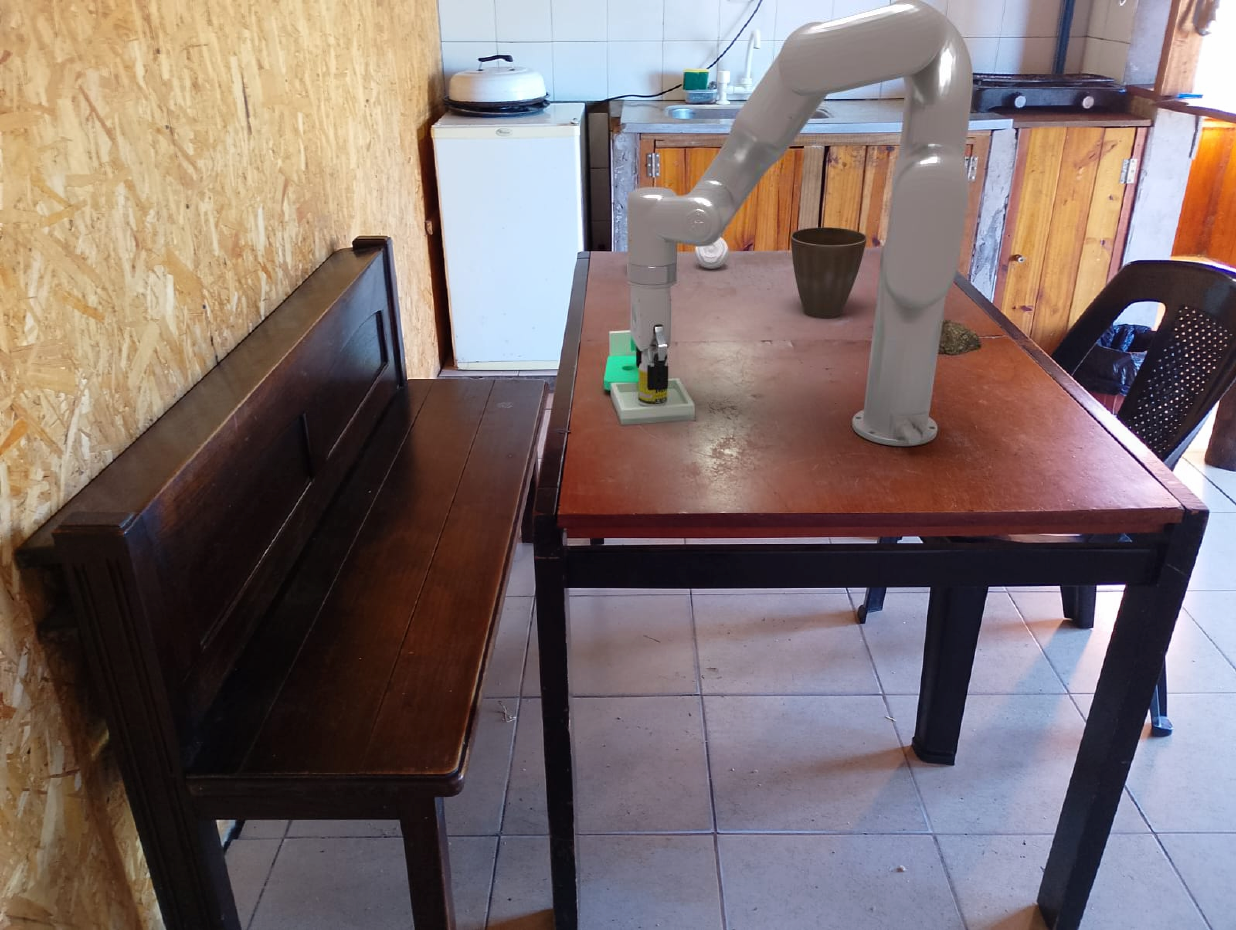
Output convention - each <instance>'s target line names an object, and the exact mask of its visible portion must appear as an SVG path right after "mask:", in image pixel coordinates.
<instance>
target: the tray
mask: <svg viewBox="0 0 1236 930" xmlns="http://www.w3.org/2000/svg"><path fill="white" fill-rule="evenodd" d="M610 388H611V390H610V399H611V402H612V403H613V406H614V409H615V411H616V413H617V417H618V419H619V421H620V424H621V426H630V425H632V426H633V425H642V424H654V423H655V424H657V423H668V422H683V421H692V420H693V421H695V420H696V419H695V412H696V406H695V403H694V401H693V399H692V398H691V396H690V394H689V393H688V391H687V390H686V388H685V386H684V383H682V381H681V379H680V378H679V377H676V378H668V394H667V403H666V404H665V405H663V406H649V407H647V406H643V405H641V404H640V403H639V402H638V390H637V383H610Z"/></svg>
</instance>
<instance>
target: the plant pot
mask: <svg viewBox="0 0 1236 930" xmlns="http://www.w3.org/2000/svg"><path fill="white" fill-rule="evenodd" d="M867 240H868V237H867V235H866V234H865V233H863V232H860V231H857V230H854V229H848V228H841V227H809V228H803V229H798V230H795V231H793V232H792V233H791V234H790V244H791V256H792V265H793V272H794V278H795V282H796V287H797V291H798V296H799V299H800V302H801V306H802V309H803V312H804V314H805V315H806V316H808V317H811V316H812V318H817V319H833V318H836V317H838V316H840V315H841V313H842V311H843V309H844V308H845V305H846V303H847V301H848V299H849V297H850V296H851V295H850V294H851V292H852V289H853V287H854V285H855V282H856V279H857V276H858V273H859V270H860V267H861V263H862V261H863V256H864V253H865V247H866V244H867Z"/></svg>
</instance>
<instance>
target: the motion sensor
mask: <svg viewBox="0 0 1236 930" xmlns="http://www.w3.org/2000/svg"><path fill="white" fill-rule="evenodd" d="M694 247H695V248H694V257H695V260H696V261H697V263H698V264H699V265H700V266H702V267H703V268H704V269H710V270H715V269H718V268H720V267H721V266H723V265H725V263H726V261H727V259H728V258H729V257H728V256H729V246H728V244H727V242H726V241H725V239H724V238H723V237H722V236H721V237H720V238H719V239H718V240H717V241H716V242H715V243H713V244H711V245H708V246H703V247H696V246H694Z"/></svg>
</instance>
